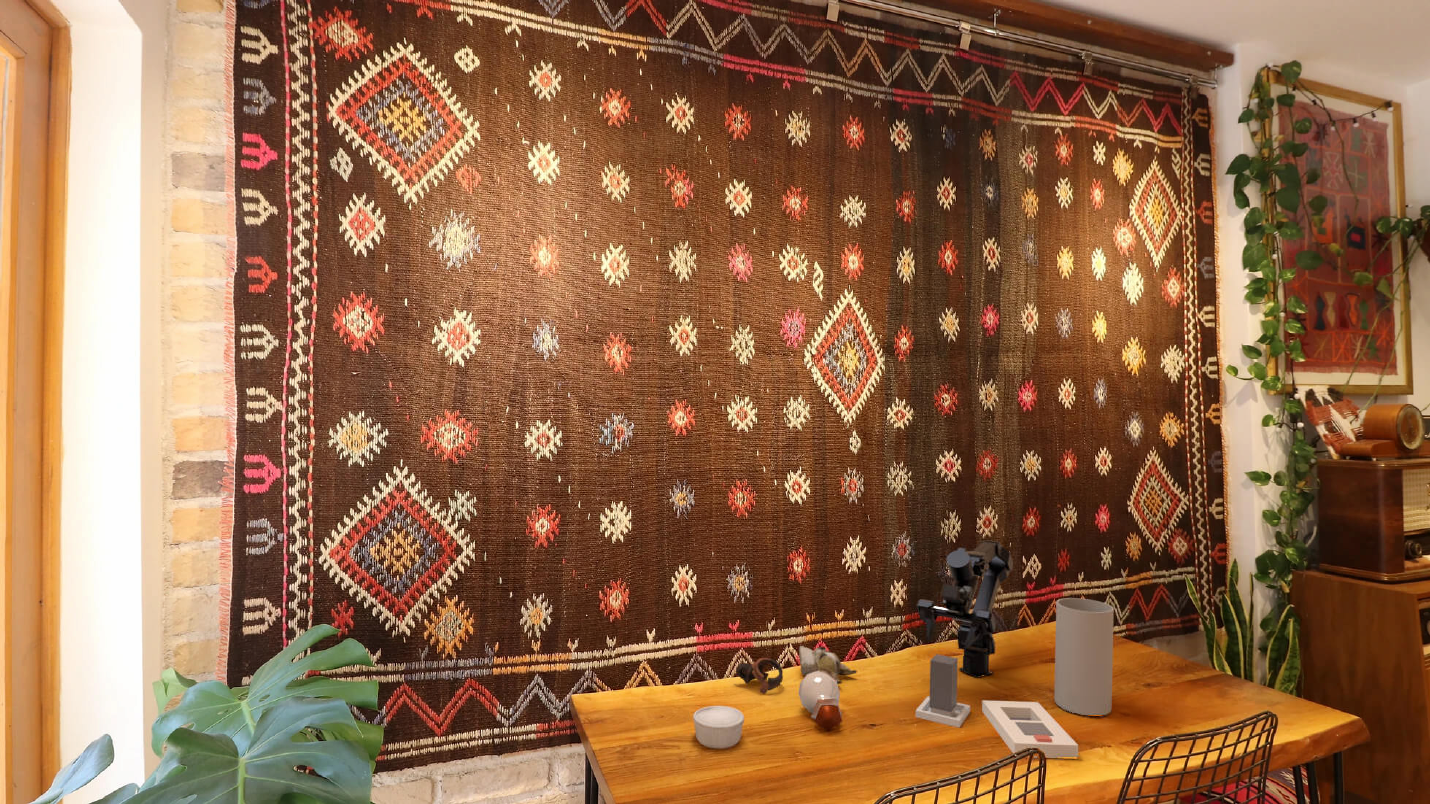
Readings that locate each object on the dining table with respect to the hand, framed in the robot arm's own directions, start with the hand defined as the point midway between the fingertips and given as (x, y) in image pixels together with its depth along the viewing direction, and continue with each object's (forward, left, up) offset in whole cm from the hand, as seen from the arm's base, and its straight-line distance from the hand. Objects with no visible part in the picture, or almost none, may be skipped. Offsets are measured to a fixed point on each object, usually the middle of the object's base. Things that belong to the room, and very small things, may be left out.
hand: (946, 643), depth 185 cm
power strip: (-4, +21, -15) cm, 26 cm away
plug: (+6, +6, -14) cm, 16 cm away
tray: (+6, +6, -15) cm, 17 cm away
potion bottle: (+32, -6, -15) cm, 36 cm away
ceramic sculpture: (+17, -26, -15) cm, 35 cm away
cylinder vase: (-29, +17, -15) cm, 36 cm away
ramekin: (+59, -7, -15) cm, 62 cm away
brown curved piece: (+36, -29, -15) cm, 48 cm away
